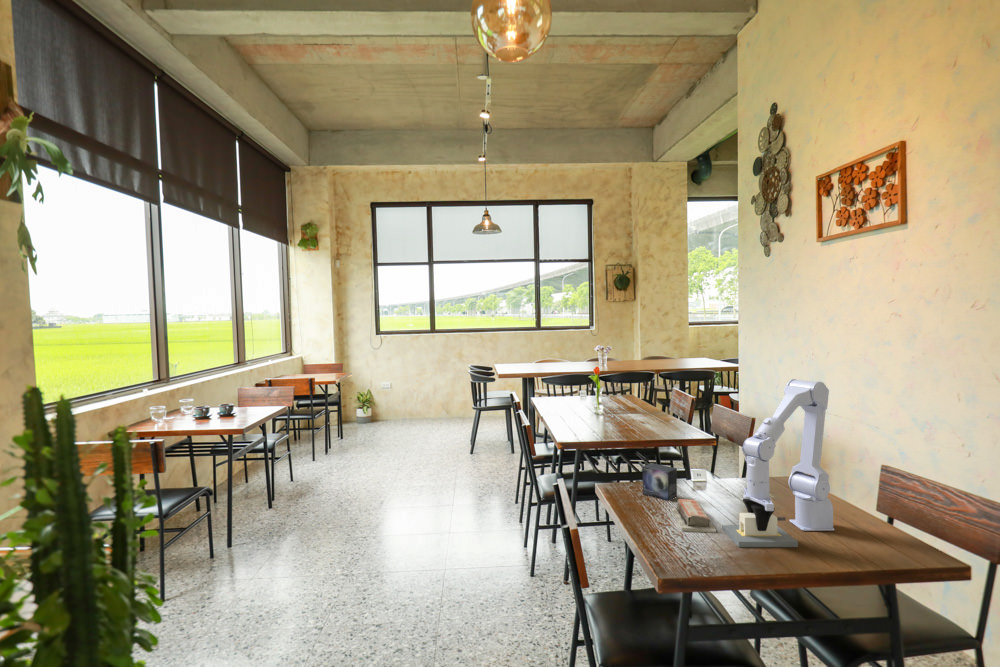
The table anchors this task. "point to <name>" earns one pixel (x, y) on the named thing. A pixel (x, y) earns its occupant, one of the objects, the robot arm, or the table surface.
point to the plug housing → (750, 527)
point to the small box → (660, 481)
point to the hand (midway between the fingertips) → (758, 527)
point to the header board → (759, 538)
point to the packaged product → (692, 516)
